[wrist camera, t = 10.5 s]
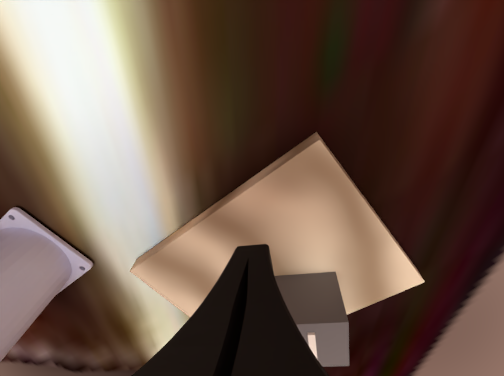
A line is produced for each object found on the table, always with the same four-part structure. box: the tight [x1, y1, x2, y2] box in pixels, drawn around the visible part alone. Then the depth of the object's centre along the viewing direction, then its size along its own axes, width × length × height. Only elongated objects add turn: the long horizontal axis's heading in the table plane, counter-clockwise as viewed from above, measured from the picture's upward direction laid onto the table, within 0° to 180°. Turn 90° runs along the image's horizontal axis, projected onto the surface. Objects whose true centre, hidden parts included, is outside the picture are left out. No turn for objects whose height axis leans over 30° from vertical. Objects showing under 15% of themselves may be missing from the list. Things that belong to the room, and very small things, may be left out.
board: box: [130, 132, 424, 317], centre depth 24 cm, size 19×15×2 cm
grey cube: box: [274, 272, 349, 367], centre depth 22 cm, size 5×5×5 cm
